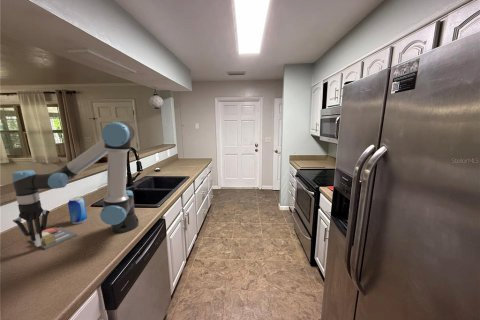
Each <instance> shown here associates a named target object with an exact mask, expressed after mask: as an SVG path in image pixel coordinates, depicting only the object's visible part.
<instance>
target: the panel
mask: <svg viewBox="0 0 480 320" xmlns="http://www.w3.org/2000/svg"><path fill="white" fill-rule="evenodd" d="M56 228H57V229H59V231H58V232H53V233H50V234H52V235H54V236H55V240H56V242H54V243H51V244H49V245H47V246H46V245H44V244H42V243H41V246H39V248H42V249H44V250H47V249H49V248H53V247H54V246H57V245H59V244H61V243H64V242H66V241H68V240H70V239H73V238H75V237H77V236H78V233H75V232H72V231H71V230H68V229H66V228H64V227H61V226H60V227H56ZM28 240H29V242H31V243H33V244H34V245H35V243H34V241H31V238H28Z"/></svg>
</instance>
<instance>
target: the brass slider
mask: <svg viewBox="0 0 480 320" xmlns="http://www.w3.org/2000/svg"><path fill="white" fill-rule="evenodd" d="M41 239H42V244H44V245H46V246H47V245H49V244H51V243H54V242H56V240H55V236H54V235H52V234H49V235H47V236H44V237H42V238H41Z"/></svg>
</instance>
